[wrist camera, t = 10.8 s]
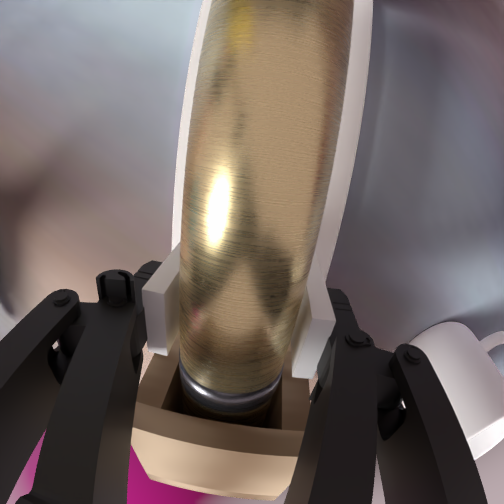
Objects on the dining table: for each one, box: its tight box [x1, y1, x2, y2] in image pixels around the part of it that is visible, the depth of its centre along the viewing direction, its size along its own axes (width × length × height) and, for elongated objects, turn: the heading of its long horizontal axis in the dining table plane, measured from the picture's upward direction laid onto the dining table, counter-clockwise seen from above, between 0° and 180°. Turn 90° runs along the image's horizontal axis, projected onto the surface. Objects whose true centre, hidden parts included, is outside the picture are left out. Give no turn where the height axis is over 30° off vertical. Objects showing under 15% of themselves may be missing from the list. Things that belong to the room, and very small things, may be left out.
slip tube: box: [179, 0, 354, 428], centre depth 8 cm, size 20×4×4 cm, turn 172°
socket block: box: [131, 331, 311, 501], centre depth 14 cm, size 7×7×10 cm
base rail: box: [172, 0, 373, 282], centre depth 12 cm, size 9×40×1 cm, turn 172°
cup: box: [402, 322, 504, 460], centre depth 14 cm, size 8×12×10 cm
